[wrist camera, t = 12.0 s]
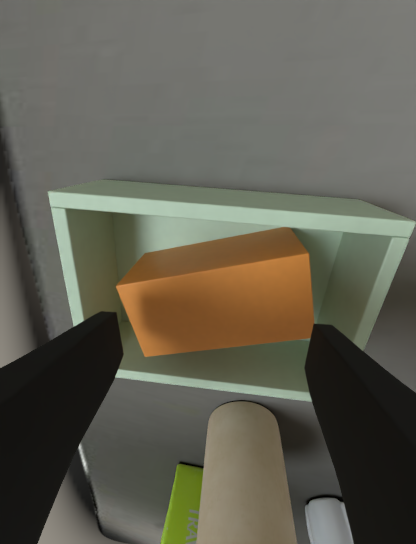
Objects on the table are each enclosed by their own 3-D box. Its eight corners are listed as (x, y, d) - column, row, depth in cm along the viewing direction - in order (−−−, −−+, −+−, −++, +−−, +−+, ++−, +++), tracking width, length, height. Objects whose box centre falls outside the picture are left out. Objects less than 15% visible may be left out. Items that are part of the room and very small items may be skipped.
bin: (315, 344, 17) (341, 406, 13) (117, 322, 18) (82, 373, 14) (360, 199, 13) (417, 221, 9) (102, 179, 14) (46, 190, 10)
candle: (200, 403, 20) (172, 607, 11) (272, 396, 19) (305, 615, 10) (217, 448, 22) (205, 650, 13) (282, 443, 21) (318, 660, 12)
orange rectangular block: (296, 292, 15) (315, 338, 11) (164, 311, 16) (144, 357, 13) (289, 225, 13) (309, 253, 10) (144, 252, 15) (114, 286, 11)
